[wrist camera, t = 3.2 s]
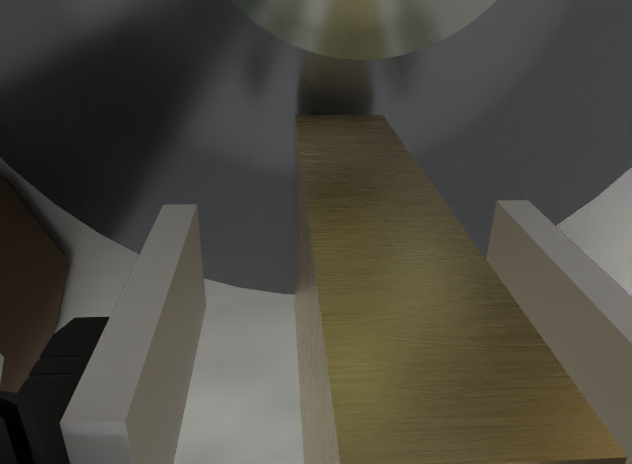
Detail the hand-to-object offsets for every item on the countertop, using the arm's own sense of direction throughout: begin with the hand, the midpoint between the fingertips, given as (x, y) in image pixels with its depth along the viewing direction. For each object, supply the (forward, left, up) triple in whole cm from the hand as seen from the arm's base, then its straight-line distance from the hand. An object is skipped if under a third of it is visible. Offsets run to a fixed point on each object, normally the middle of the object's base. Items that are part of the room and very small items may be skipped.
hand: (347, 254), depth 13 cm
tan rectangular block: (0, 0, -2) cm, 2 cm away
